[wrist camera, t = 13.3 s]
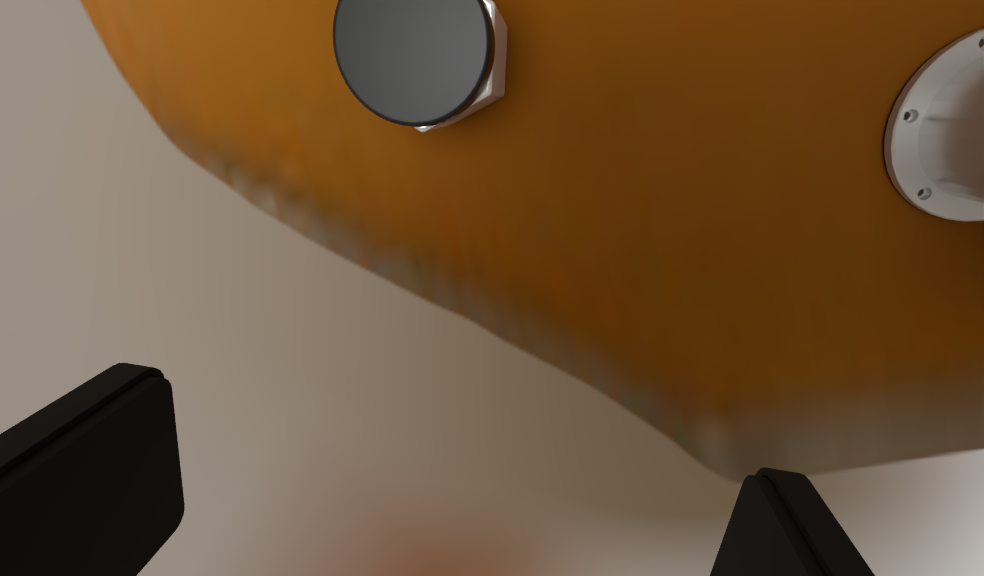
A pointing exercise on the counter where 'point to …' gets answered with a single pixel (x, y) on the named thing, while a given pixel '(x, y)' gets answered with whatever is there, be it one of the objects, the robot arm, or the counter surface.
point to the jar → (421, 57)
